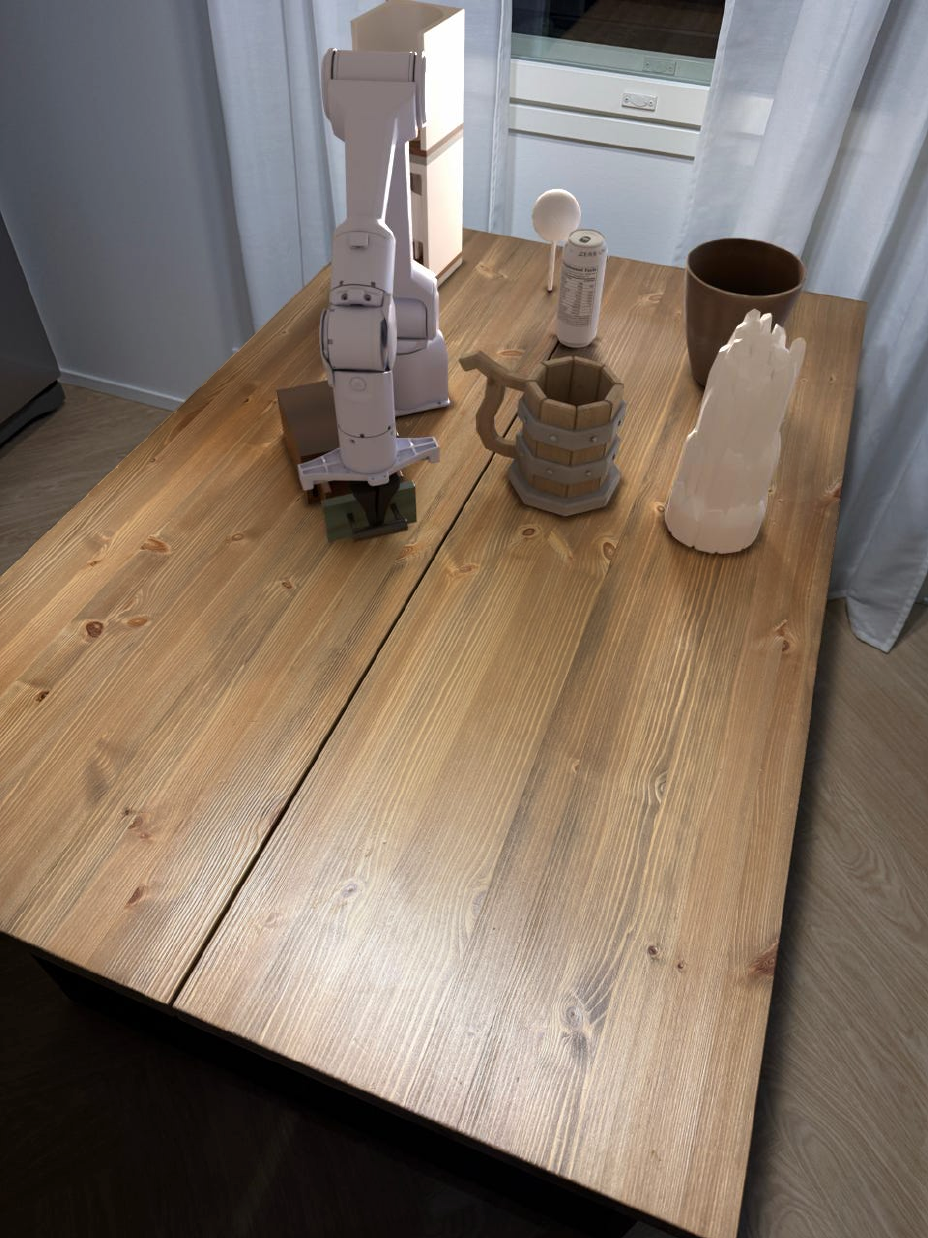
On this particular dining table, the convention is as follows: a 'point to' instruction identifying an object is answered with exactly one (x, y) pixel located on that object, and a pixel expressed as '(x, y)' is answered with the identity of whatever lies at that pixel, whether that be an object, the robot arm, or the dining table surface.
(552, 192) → the lollipop
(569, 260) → the energy drink can
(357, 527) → the drawer
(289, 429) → the cabinet
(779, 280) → the flower pot
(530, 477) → the tankard
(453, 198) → the display case
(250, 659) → the dining table surface
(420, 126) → the robot arm
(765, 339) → the cream upright sculpted piece
